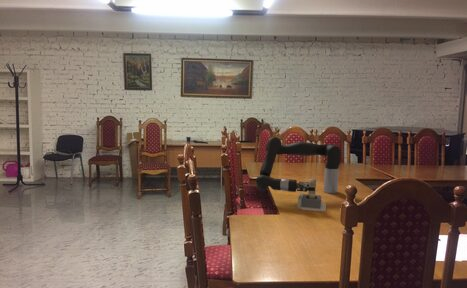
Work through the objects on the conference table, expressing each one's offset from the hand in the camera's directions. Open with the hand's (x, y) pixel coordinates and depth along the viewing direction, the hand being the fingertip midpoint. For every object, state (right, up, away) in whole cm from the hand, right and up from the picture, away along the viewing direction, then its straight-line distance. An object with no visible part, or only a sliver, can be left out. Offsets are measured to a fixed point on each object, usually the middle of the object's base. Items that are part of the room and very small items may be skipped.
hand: (315, 187), depth 218 cm
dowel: (-2, -11, +2) cm, 11 cm away
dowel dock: (-2, -12, +2) cm, 12 cm away
